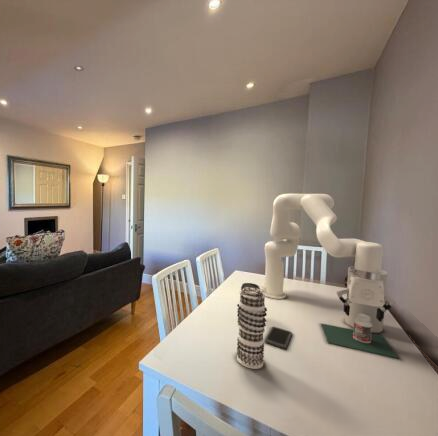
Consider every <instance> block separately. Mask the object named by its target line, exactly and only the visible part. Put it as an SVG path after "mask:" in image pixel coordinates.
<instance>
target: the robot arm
mask: <svg viewBox="0 0 438 436" xmlns="http://www.w3.org/2000/svg"><path fill="white" fill-rule="evenodd" d="M272 204H273V205H272V210H273V211H272V212H273V213H272V219H271V223H270V224H271V225H270V230H269V234H270V237H271V238H272V239H275V240H270V241H267V242H266V243H265V245H264V248H263V249H264V258H265V269H264V271H265V272H264V274H265V276H264V284H263V285H260V284H257V285H258V286H259V288H260V290H261V291H262V293H263V294H265V297H267V298H270V299H274V300H275V299H277V300H280V299H281V300H283V299H285V298H287V294H286V293H285V292H284V280H285V279H284V278H285V264H284V261H283V260H282V258H289V257H294V256H295V255H297V254H296V253H297V252H298V248H299V243H300V239H301V228H300V226H299V225H298V223H296V222H292V221H290V220H291V213H290V211H304V212H305V213H306V214H307V215H308V217H309V218H310V219H311V220H312V222H313V223H314V224H315V226H316V229H315V232H316V234H315V235H316V238H317V241H318V243H319V244H320V245H321V247H322V248H323V249H324V251H325V252H326V253H327V254H328V255H330V256H331V257H333V258H337V259H338V258H339V259H340V258H354V266H355V267H354V269H353V270H349V273H352V274H354V275H352V276H351V278H350V282H349V286H348V289H347V288H346V289H342V290H339V291H336V295H337V298H338V299H339V300H340V301H341V302H342V304H343V313H344V314H345V313H346V315H347V316H349V312H350V306H349V304H351V303H352V302H353V303H357V304H363V305H369V306H375V307H379V308H378V309H377V314H376V318H377V319H378V321H380V322H382V319H383V318H384V319H385V313H386V312H387V311H388V310H390V309H391V308H393V306H394V305H395V304H396V301H395V300H394V299H392V298H390V297H388V296H387V295H386V296H385V295H384V285H383V281H382V280H381V279H380V273H381V270H382V265H383V264H382V263H383V253H384V247H383V245H381V244H380V243H377V242H371V241H365V240H362V239H358V238H354V237H351V238H349V237H348V238H338V237H337V235H336V234H335V233H334V232H333V230H332V228H331V226H332V225H334V223H336V222H337V219H338V217H337V215H336V213H334V211H333V210H332V209H333V208H334V206H335V200H334V198H333V197H332V195H329V194H327V193H281V194H280V195H277V197H275V199H274V201H273V203H272ZM343 295H347V297H348V298H344V297H343ZM384 300H385V302H386V303H385V305H384Z"/></svg>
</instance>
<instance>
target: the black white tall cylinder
mask: <svg viewBox="0 0 438 436" xmlns="http://www.w3.org/2000/svg"><path fill="white" fill-rule="evenodd" d="M238 292H239V294H240V296H239V303H237V305H236V306H237V311H236V312H237V327H238V336H237V339H236V340H237V344H236V345H237V346H236V360H237V362H238V363H239V364H240V365H241V366H243V367H246V368H248V369H252V370H254V369H255V370H256V369H257V370H258V369H261V368H263V366H264V361H265V360H264V357H265V353H264V352H265V342H264V333H265V330H266V329H265V327H266V322H267V320H266V316H267V315H268V313H267V311H268V308H267V307H266V305H265V300H266V299H265V298H266V296H265V294H263V293H262V290H259V289H257V288H254V287H245V288H244V289H242V290H241V289H240V291H238Z"/></svg>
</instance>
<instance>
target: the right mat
mask: <svg viewBox="0 0 438 436" xmlns="http://www.w3.org/2000/svg"><path fill="white" fill-rule="evenodd" d="M320 324H321V327H322V330H323V332H324V335H325V338H326V341H327V343H328V344H331V345H335V346H338V347H343V348H349V349H353V350H357V351H361V352H366V353H371V354H376V355H379V356H384V357H389V358H393V359H397V360H399V359H400V357H399V356H398V354H397V353H396V352H395V350H394V349H393V348H392V347H391V346H390V344H389V343H388V342H387V340H385V338H384V337H383V336H382V335H381V334H377V333H372V336H371V343H362V342H359V341H357V340H355V339H354V338H353V329H351V328H346V327H340V326H336V325H330V324H325V323H320Z"/></svg>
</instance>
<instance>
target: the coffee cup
mask: <svg viewBox="0 0 438 436" xmlns="http://www.w3.org/2000/svg"><path fill="white" fill-rule="evenodd" d="M258 285H259V284H256V283H252V282H244V283H242V284H241V286H240V291H241V290H242V289H244V288H245V287H254V288H257V289H259V290H260V288H259V286H258Z"/></svg>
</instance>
